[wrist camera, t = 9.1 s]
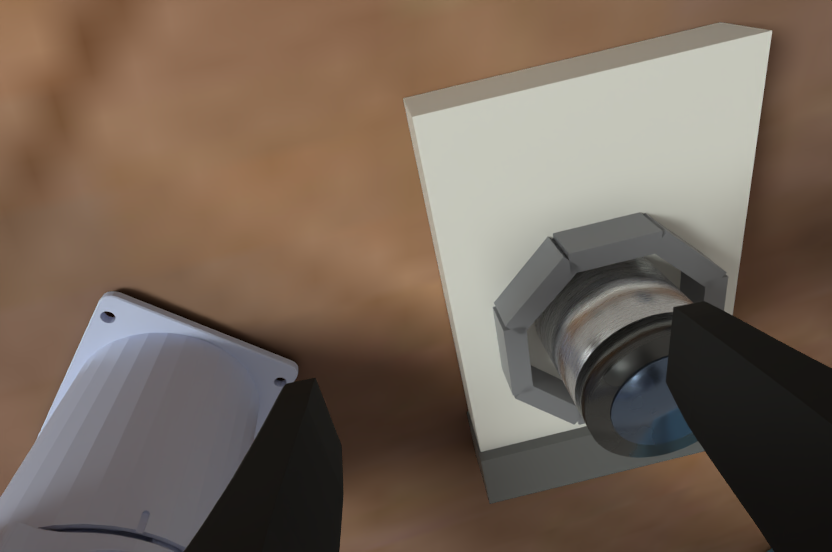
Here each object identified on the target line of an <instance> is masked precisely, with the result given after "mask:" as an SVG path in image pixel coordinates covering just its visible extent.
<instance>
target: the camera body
mask: <svg viewBox="0 0 832 552" xmlns="http://www.w3.org/2000/svg"><path fill="white" fill-rule="evenodd" d="M771 36H772V30H766V29H760V28H753V27H747V26H741V25H734V24H728V23H722V22H720V23H715V24H711V25H707V26H703V27H699V28H695V29H690V30H686V31H682V32H678V33H674V34H670V35H665V36H661V37H657V38H653V39H649V40H645V41H640V42H636V43H632V44H628V45H624V46H620V47H615V48H611V49H607V50H603V51H599V52H595V53H590V54H586V55H582V56H578V57H574V58H570V59H565V60H561V61H557V62H553V63H549V64H545V65H540V66H536V67H532V68H528V69H524V70H520V71H515V72H511V73H507V74H503V75H499V76H495V77H490V78H486V79H482V80H478V81H474V82H470V83H465V84H461V85H457V86H453V87H449V88H445V89H440V90H436V91H432V92H428V93H424V94H420V95H415V96H411V97H407V98H403V101H404V105H405V110H406V115H407V120H408V124H409V129H410V134H411V139H412V144H413V148H414V153H415V158H416V163H417V167H418V172H419V177H420V182H421V186H422V191H423V196H424V201H425V206H426V210H427V215H428V220H429V225H430V229H431V234H432V239H433V244H434V249H435V253H436V258H437V263H438V268H439V272H440V277H441V282H442V287H443V291H444V296H445V301H446V306H447V311H448V315H449V320H450V325H451V330H452V334H453V339H454V344H455V349H456V354H457V358H458V363H459V368H460V373H461V377H462V382H463V387H464V392H465V396H466V401H467V406H468V412H467V416H468V421H469V425H470V430H471V435H472V440H473V444H474V449H475V454H476V457H477V461H478V464H479V468H480V471H481V475H482V478H483V482H484V485H485V489H486V492H487V496H488V499H489V503H490V504H491V503H495V502H499V501H503V500H507V499H512V498H516V497H520V496H524V495H528V494H532V493H536V492H540V491H544V490H548V489H552V488H556V487H560V486H564V485H569V484H573V483H577V482H581V481H585V480H589V479H593V478H597V477H601V476H605V475H609V474H613V473H617V472H621V471H626V470H630V469H634V468H638V467H642V466H646V465H650V464H654V463H658V462H662V461H666V460H670V459H674V458H678V457H683V456H687V455H691V454H695V453H699V452H703V451H705V450H704V449H703V447H702V446H701V444H700V443H699V442H698V441H697V442H695V443H694V444H692V445H689V446H687V447H685V448H683V449H680V450H677V451H675V452H671V453H668V454H664V455H660V456H654V457H645V458H634V457H626V456H621V455H617V454H614V453H612V452H610V451H608V450H606V449H604V448H603V447H602V446H600V445H599V444H598V443H597V442H596V441H595V440H594V438H593V436H592V435H591V433H590V431H589V429H588V427H587V426H586V424H585V422H584V420H583V418H582V416H581V414H580V413H579V411H578V409H577V407H576V405H575V403H574V401H573V400H572V398H571V396H570V394H569V392H568V390H567V388H566V387H565V385H564V383H563V381H562V379H561V377H560V376H559V374H558V372H557V370H556V368H555V366H554V364H553V363H552V361H551V359H550V357H549V355H548V353H547V351H546V350H545V348H544V346H543V344H542V342H541V340H540V338H539V337H538V334H537V332H536V328H535V320H536V319H537V318H538V317H539V316H540V315H541V314H542V312H543V311H544V310H545V309H546V308H547V307H548V305H549V304H550V303H551V302H552V301H553V300H554V299H555V297H556V296H557V295H558V294H559V293H560V292H561V290H562V289H563V288H564V287H565V286H566V285H567V284H568V282H569V281H570V280H571V279H572V278H573V277H574V276H575V274H576V273H578V272H582V271H586V270H591V269H595V268H599V267H603V266H607V265H611V264H615V263H619V262H624V261H628V260H632V259H636V258H640V257H645V258H646V259H647V260H649V261H650V262H651V263H652V264H653V265H654V266H655V267H656V268H657V269H658V270H659V271H660V272H662V273H663V274H664V275H665V276H666V277H667V278H668V279H669V280H670V281H671V282H672V283H673V284H674V285H675V286H676V287H677V288H678V289H679V290H680V291H681V292H682V293H684V294H685V295H686V296H687V297H688V298H689V299H690V300H691V301H692V302H693V303H697V302H702V301H705V302H708V303H709V304H711V305H713V306H715V307H717V308H719V309H721V310H723V311H725V312H727V313H729V314H731V315H732V316H733V309H734V302H735V295H736V287H737V280H738V273H739V266H740V259H741V251H742V244H743V237H744V230H745V223H746V215H747V208H748V201H749V194H750V187H751V180H752V172H753V165H754V158H755V151H756V144H757V136H758V129H759V122H760V115H761V108H762V101H763V93H764V86H765V79H766V72H767V65H768V57H769V50H770V43H771Z"/></svg>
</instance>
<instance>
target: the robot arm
mask: <svg viewBox="0 0 832 552" xmlns="http://www.w3.org/2000/svg"><path fill="white" fill-rule="evenodd" d="M106 311H107V312H111V313H113V314H114V315H115V317H109V316H108V315H106V314H105V312H106ZM297 375H298V365H297V364H296V363H295V362H293V361H292V360H289V359H287V358H284V357H282V356H279V355H277V354H274V353H272V352H269V351H267V350H264V349H262V348H259V347H256V346H254V345H251V344H249V343H246V342H244V341H241V340H239V339H236V338H234V337H231V336H229V335H226V334H224V333H221V332H219V331H216V330H214V329H211V328H209V327H206V326H204V325H201V324H198V323H196V322H193V321H191V320H188V319H186V318H183V317H181V316H178V315H176V314H173V313H171V312H168V311H166V310H163V309H161V308H158V307H156V306H153V305H151V304H148V303H146V302H143V301H140V300H138V299H135V298H133V297H130V296H128V295H125V294H123V293H120V292H116V291H110V292H107V293H105V294H104V295H103V296H102V297H101V299H100V300H99V302H98V304H97V306H96V309H95V311H94V313H93V315H92V318H91V320H90V322H89V324H88V326H87V329H86V331H85V333H84V335H83V338H82V340H81V342H80V344H79V346H78V349H77V351H76V353H75V355H74V358H73V360H72V362H71V364H70V366H69V369H68V371H67V373H66V375H65V378H64V380H63V382H62V384H61V386H60V389H59V391H58V393H57V395H56V397H55V400H54V402H53V404H52V406H51V409H50V411H49V413H48V415H47V417H46V420H45V422H44V424H43V426H42V429H41V431H40V433H39V435H38V437H37V440H36V442H35V443H34V445H33V446H32V448H31V450H30V451H29V453H28V454H27V456H26V458H25V459H24V461H23V462H22V464H21V466H20V467H19V469H18V470H17V472H16V474H15V475H14V477H13V478H12V480H11V482H10V483H9V485H8V486H7V488H6V489H5V491H4V493H3V494H2V496H1V497H0V552H339V548H340V535H341V521H342V507H343V468H342V448H341V443H340V440H339V438H338V435H337V433H336V430H335V427H334V425H333V422H332V420H331V417H330V414H329V412H328V409H327V407H326V404H325V402H324V399H323V396H322V394H321V391H320V389H319V386H318V383H317V381H316V378H312V379H307V380H302V381H297V382H294V381H295V379H296V378H297ZM276 378H284V379H285V380H283V381H279V380H277V379H276ZM666 384H667V386H668V388H669V390H670V392H671V394H672V396H673V398H674V400H675V402H676V404H677V406H678V408H679V410H680V412H681V414H682V415H683V417H684V419H685V421H686V423H687V425H688V427H689V428H690V430H691V431H692V433H693V434H694V436H695V437H696V439H697V440H698V442H699V443H700V444H701V446H702V447H703V449H704V450H705V452H706V453H707V455H708V456H709V458H710V459H711V461H712V462H713V463H714V465H715V466H716V468H717V469H718V471H719V472H720V473H721V475H722V476H723V478H724V479H725V481H726V482H727V483H728V485H729V486H730V488H731V489H732V491H733V492H734V494H735V495H736V496H737V498H738V499H739V501H740V502H741V504H742V505H743V506H744V508H745V509H746V511H747V512H748V514H749V515H750V516H751V518H752V519H753V521H754V522H755V524H756V525H757V526H758V528H759V529H760V531H761V532H762V534H763V536H764V537H765V539H766V540H767V542H768V543H769V545H770V546H771V548H772V550H773V551H774V552H832V368H830V367H828V366H826V365H824V364H822V363H820V362H818V361H816V360H814V359H812V358H810V357H808V356H806V355H805V354H803V353H801V352H799V351H797V350H795V349H793V348H791V347H789V346H788V345H786V344H784V343H782V342H780V341H778V340H776V339H775V338H773V337H771V336H769V335H767V334H765V333H764V332H762V331H760V330H758V329H756V328H754V327H753V326H751V325H749V324H747V323H745V322H743V321H742V320H740V319H738V318H736V317H734V316H732V315H731V314H729V313H727V312H725V311H723V310H721V309H719V308H717V307H715V306H713V305H711V304H709V303H708V302H705V301H702V302H697V303H691V304H686V305H681V306H676V307H673V316H672V326H671V335H670V345H669V354H668V364H667V373H666Z"/></svg>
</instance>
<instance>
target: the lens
mask: <svg viewBox="0 0 832 552" xmlns="http://www.w3.org/2000/svg"><path fill="white" fill-rule="evenodd" d="M691 303H693V302H692V301H691V300H690V299H689V298H688V297H687V296H686V295H685V294H684V293H682V292H681V291H680V290H679V289H678V288H677V287H676V286H675V285H674V284H673V283H672V282H671V281H670V280H669V279H668V278H667V277H666V276H665V275H664V274H663V273H662V272H660V271H659V270H658V269H657V268H656V267H655V266H654V265H653V264H652V263H651V262H650V261H649V260H647V259H646V258H645V257H640V258H636V259H632V260H628V261H624V262H619V263H615V264H611V265H607V266H603V267H599V268H595V269H591V270H586V271H582V272H578V273H576V274H575V276H574V277H573V278H572V279H571V280H570V281H569V282H568V284H567V285H566V286H565V287H564V288H563V289H562V290H561V292H560V293H559V294H558V295H557V296H556V297H555V299H554V300H553V301H552V302H551V303H550V304H549V305H548V307H547V308H546V309H545V310H544V311H543V312H542V314H541V315H540V316H539V317H538V318H537V319H536V320H535V328H536V332H537V334H538V337H539V338H540V340H541V342H542V344H543V346H544V348H545V350H546V351H547V353H548V355H549V357H550V359H551V361H552V363H553V364H554V366H555V368H556V370H557V372H558V374H559V376H560V377H561V379H562V381H563V383H564V385H565V387H566V388H567V390H568V392H569V394H570V396H571V398H572V400H573V401H574V403H575V405H576V407H577V409H578V411H579V413H580V414H581V416H582V418H583V420H584V422H585V424H586V426H587V427H588V429H589V431H590V433H591V435H592V436H593V438H594V440H595V441H596V442H597V443H598V444H599V445H600V446H602V447H603V448H604V449H606V450H608V451H610V452H612V453H614V454H617V455H621V456H626V457H634V458H645V457H654V456H660V455H664V454H668V453H671V452H675V451H677V450H680V449H683V448H685V447H687V446H689V445H692V444H694V443H695V442H697V441H698V440H697V439H696V437H695V436H694V434H693V433H692V431H691V430H690V428H689V427H688V425H687V423H686V421H685V419H684V417H683V415H682V414H681V412H680V410H679V408H678V406H677V404H676V402H675V400H674V398H673V396H672V394H671V392H670V390H669V388H668V386H667V384H666V373H667V364H668V354H669V345H670V335H671V326H672V316H673V307H676V306H681V305H686V304H691Z"/></svg>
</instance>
